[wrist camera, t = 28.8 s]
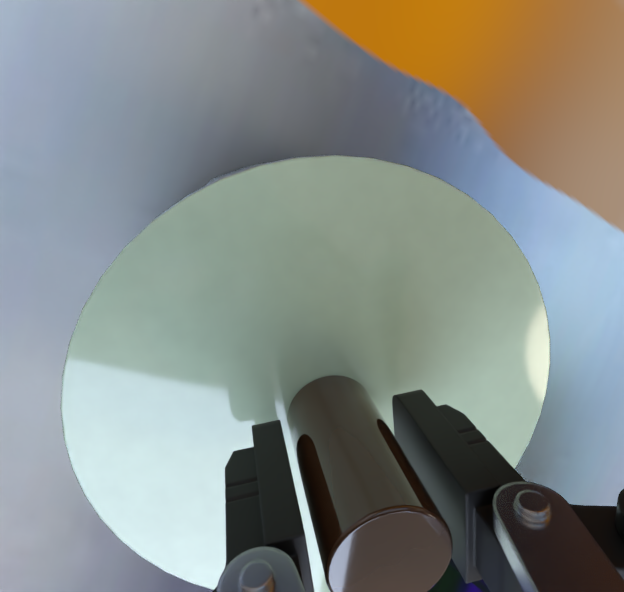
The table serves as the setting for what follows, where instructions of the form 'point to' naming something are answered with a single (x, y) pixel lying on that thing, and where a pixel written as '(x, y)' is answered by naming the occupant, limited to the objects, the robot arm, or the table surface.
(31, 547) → the table surface
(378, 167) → the pot lid
